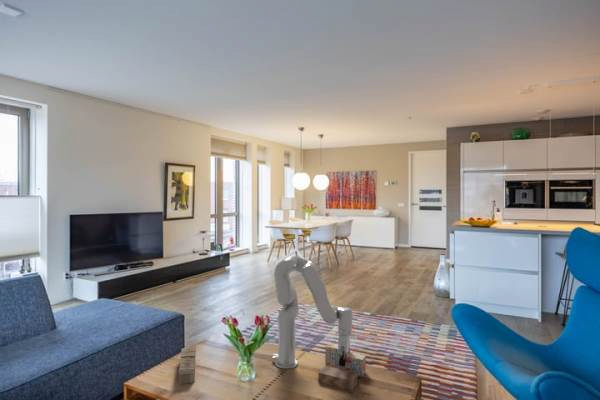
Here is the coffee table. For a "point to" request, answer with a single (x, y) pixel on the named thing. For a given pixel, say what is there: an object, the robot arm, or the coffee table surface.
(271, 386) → the coffee table surface
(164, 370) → the coffee table surface
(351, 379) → the walnut block
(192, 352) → the block tower
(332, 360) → the stack of blocks
